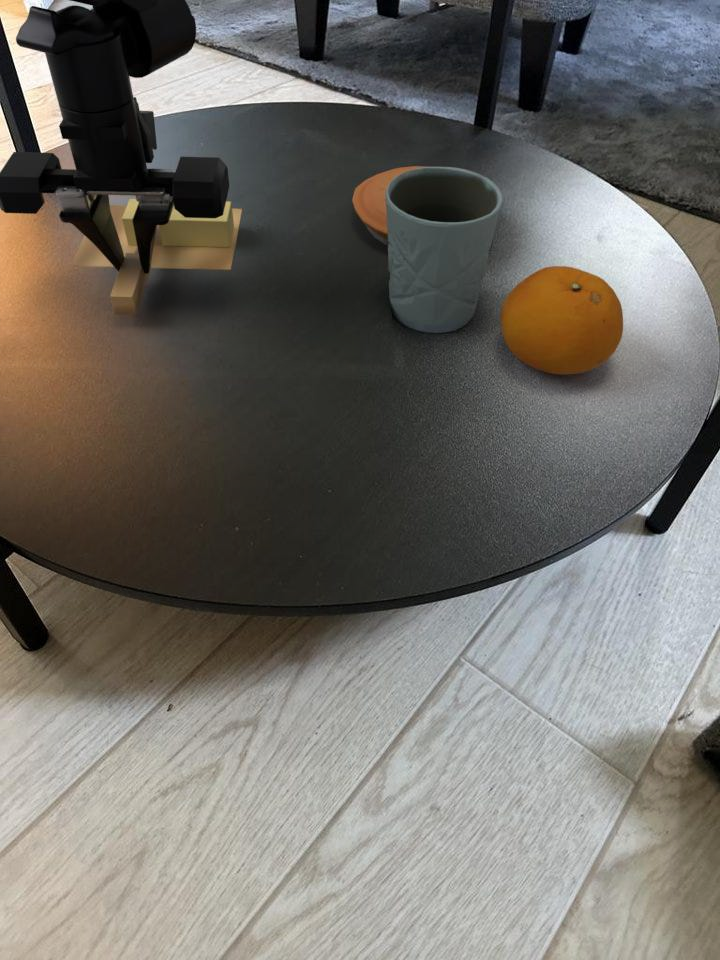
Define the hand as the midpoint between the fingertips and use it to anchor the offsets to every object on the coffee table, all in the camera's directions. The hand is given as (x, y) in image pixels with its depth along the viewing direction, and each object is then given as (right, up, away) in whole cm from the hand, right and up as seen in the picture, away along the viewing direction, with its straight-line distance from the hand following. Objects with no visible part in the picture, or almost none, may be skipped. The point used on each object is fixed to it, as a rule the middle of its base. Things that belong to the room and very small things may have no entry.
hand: (135, 270), depth 69 cm
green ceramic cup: (+28, -3, +4) cm, 29 cm away
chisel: (0, +2, +3) cm, 3 cm away
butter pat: (-2, +6, +8) cm, 11 cm away
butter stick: (+4, +6, +8) cm, 11 cm away
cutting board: (0, +5, +9) cm, 11 cm away
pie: (+28, +8, +13) cm, 32 cm away
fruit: (+39, -8, -1) cm, 40 cm away
